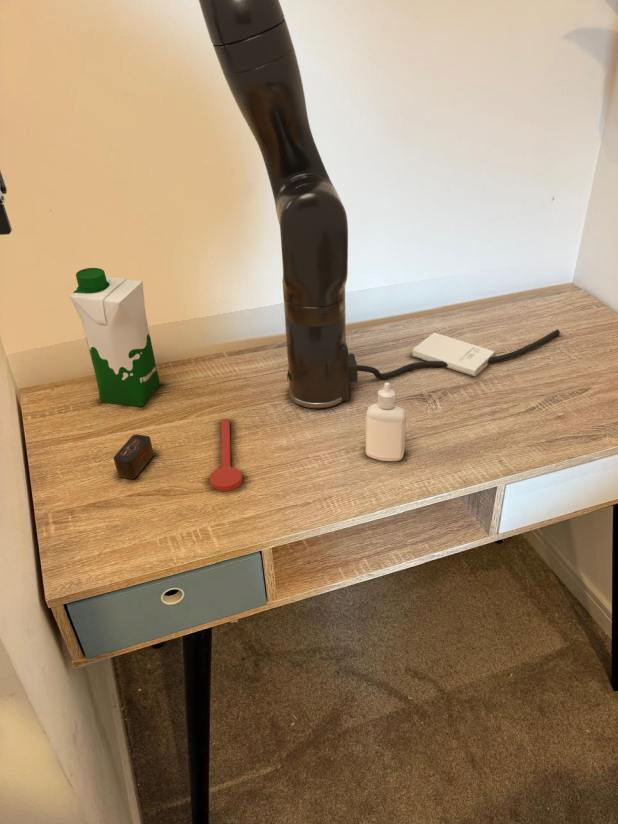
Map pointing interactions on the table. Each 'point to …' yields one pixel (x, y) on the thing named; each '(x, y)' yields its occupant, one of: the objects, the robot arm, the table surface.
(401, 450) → the eye dropper bottle
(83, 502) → the table surface
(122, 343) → the milk carton
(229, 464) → the spoon
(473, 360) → the hard drive
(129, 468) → the black gauge box
